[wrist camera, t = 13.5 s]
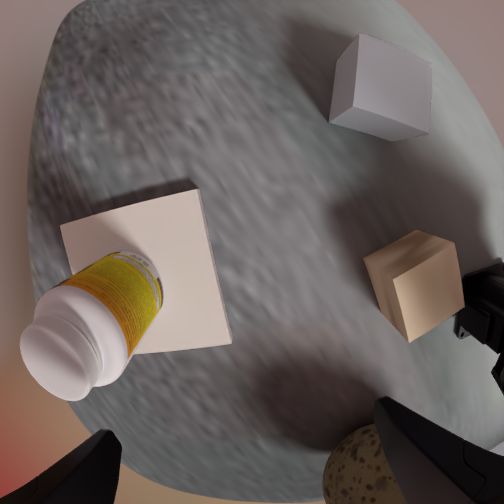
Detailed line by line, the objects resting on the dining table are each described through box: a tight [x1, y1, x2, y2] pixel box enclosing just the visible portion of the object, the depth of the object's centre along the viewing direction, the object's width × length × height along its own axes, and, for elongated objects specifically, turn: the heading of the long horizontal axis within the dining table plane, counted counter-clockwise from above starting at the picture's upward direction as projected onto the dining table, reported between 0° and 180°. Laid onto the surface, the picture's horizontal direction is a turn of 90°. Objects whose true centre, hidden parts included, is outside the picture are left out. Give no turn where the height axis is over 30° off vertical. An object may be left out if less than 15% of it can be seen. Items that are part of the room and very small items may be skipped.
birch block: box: [363, 230, 465, 343], centre depth 18 cm, size 5×5×5 cm
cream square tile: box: [60, 189, 232, 354], centre depth 20 cm, size 11×11×1 cm
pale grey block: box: [328, 33, 432, 142], centre depth 15 cm, size 5×5×5 cm
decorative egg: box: [323, 424, 407, 504], centre depth 17 cm, size 11×11×15 cm
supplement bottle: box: [20, 251, 164, 401], centre depth 14 cm, size 6×6×10 cm
